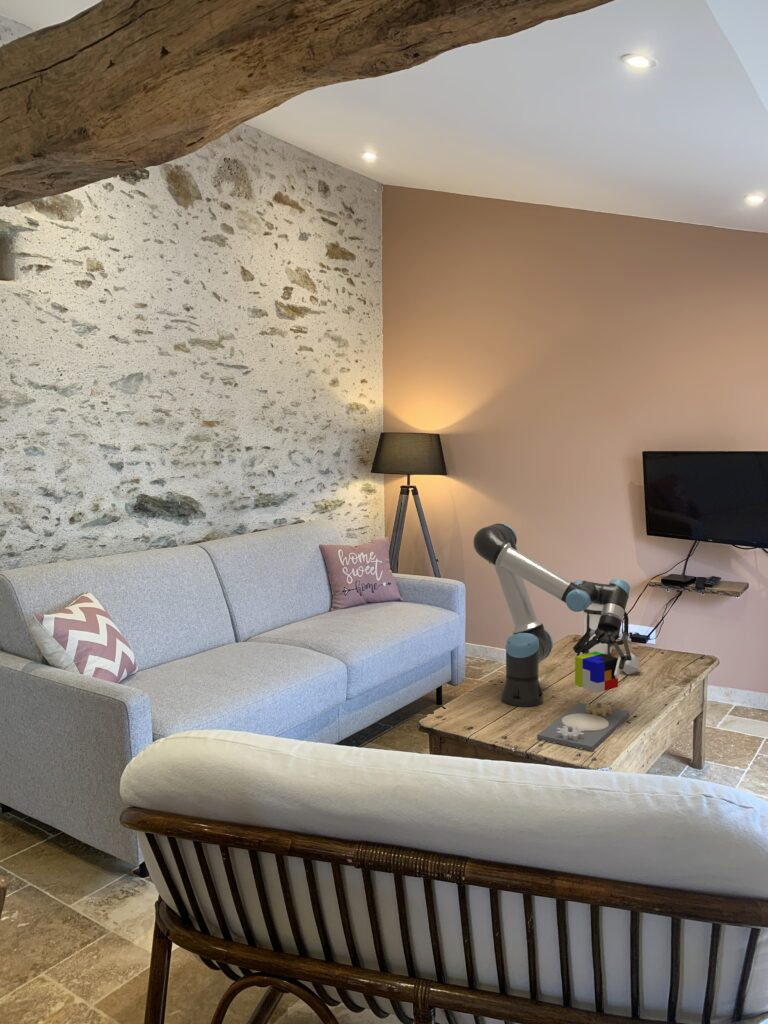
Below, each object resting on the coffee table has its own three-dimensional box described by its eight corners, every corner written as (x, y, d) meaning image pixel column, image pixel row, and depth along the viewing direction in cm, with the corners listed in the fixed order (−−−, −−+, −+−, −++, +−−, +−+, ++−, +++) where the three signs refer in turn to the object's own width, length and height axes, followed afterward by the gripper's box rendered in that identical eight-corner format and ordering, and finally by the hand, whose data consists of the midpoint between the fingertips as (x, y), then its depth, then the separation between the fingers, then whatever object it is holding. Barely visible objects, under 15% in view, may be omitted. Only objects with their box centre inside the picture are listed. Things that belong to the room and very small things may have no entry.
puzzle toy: (597, 693, 270) (597, 663, 269) (574, 685, 278) (575, 656, 277) (618, 687, 275) (618, 658, 274) (595, 679, 284) (595, 651, 282)
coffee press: (598, 662, 342) (599, 592, 339) (572, 653, 356) (573, 585, 353) (628, 656, 350) (630, 587, 347) (602, 648, 364) (603, 581, 361)
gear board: (591, 751, 250) (592, 738, 250) (537, 739, 260) (537, 726, 260) (629, 716, 280) (629, 704, 279) (578, 706, 290) (579, 695, 289)
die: (629, 670, 334) (615, 652, 333) (647, 663, 328) (633, 645, 327) (625, 682, 327) (611, 664, 326) (643, 675, 322) (629, 657, 321)
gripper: (648, 629, 282) (635, 684, 271) (579, 621, 295) (564, 673, 284) (644, 618, 277) (631, 673, 266) (574, 610, 290) (558, 662, 279)
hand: (596, 673), depth 275 cm, fingers closed on puzzle toy, 12 cm apart
